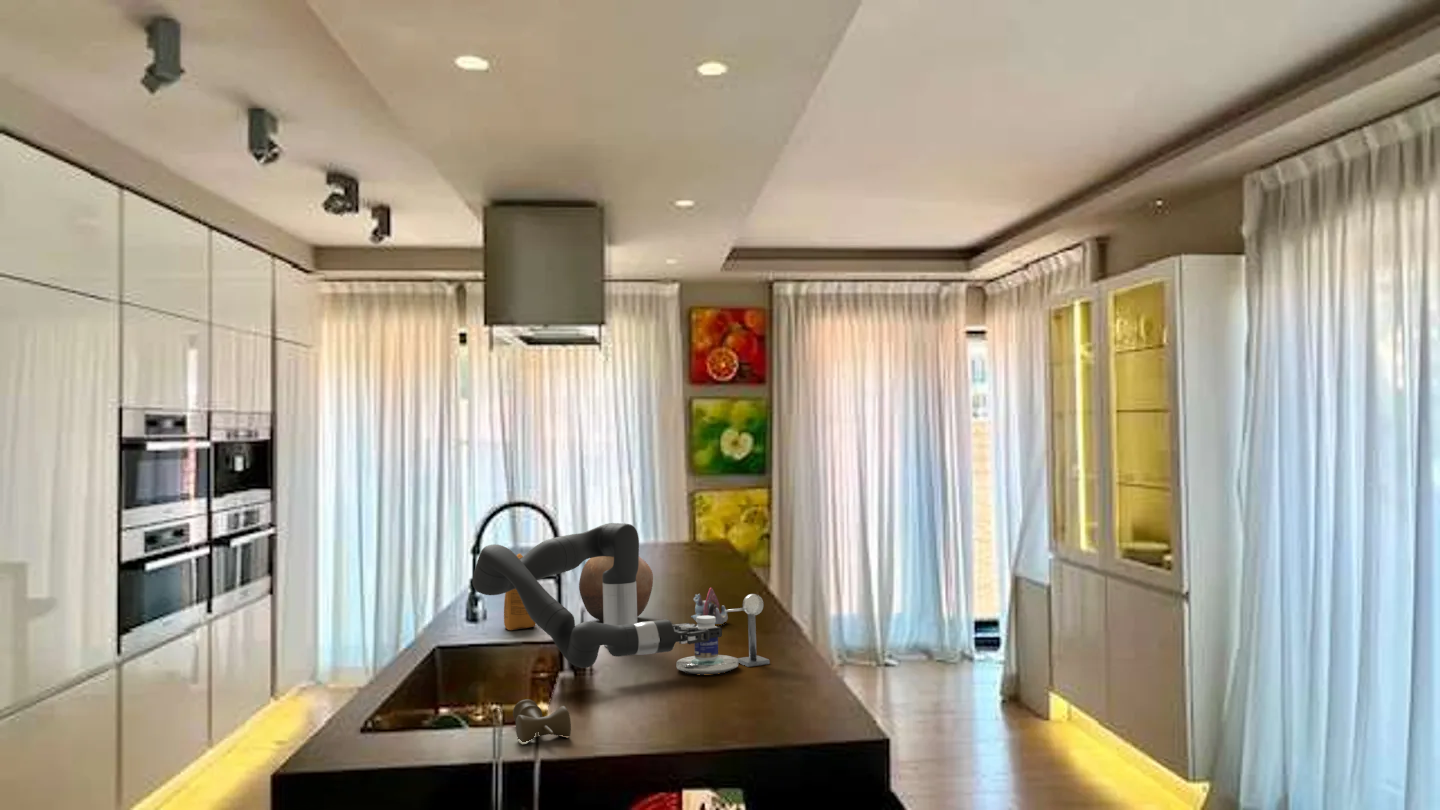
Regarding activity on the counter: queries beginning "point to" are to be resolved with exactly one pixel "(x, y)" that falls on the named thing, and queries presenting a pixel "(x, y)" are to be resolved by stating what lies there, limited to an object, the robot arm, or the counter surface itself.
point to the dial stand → (752, 629)
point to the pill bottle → (711, 647)
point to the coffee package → (516, 611)
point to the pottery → (594, 585)
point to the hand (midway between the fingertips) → (715, 629)
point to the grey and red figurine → (709, 607)
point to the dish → (707, 665)
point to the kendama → (539, 721)
